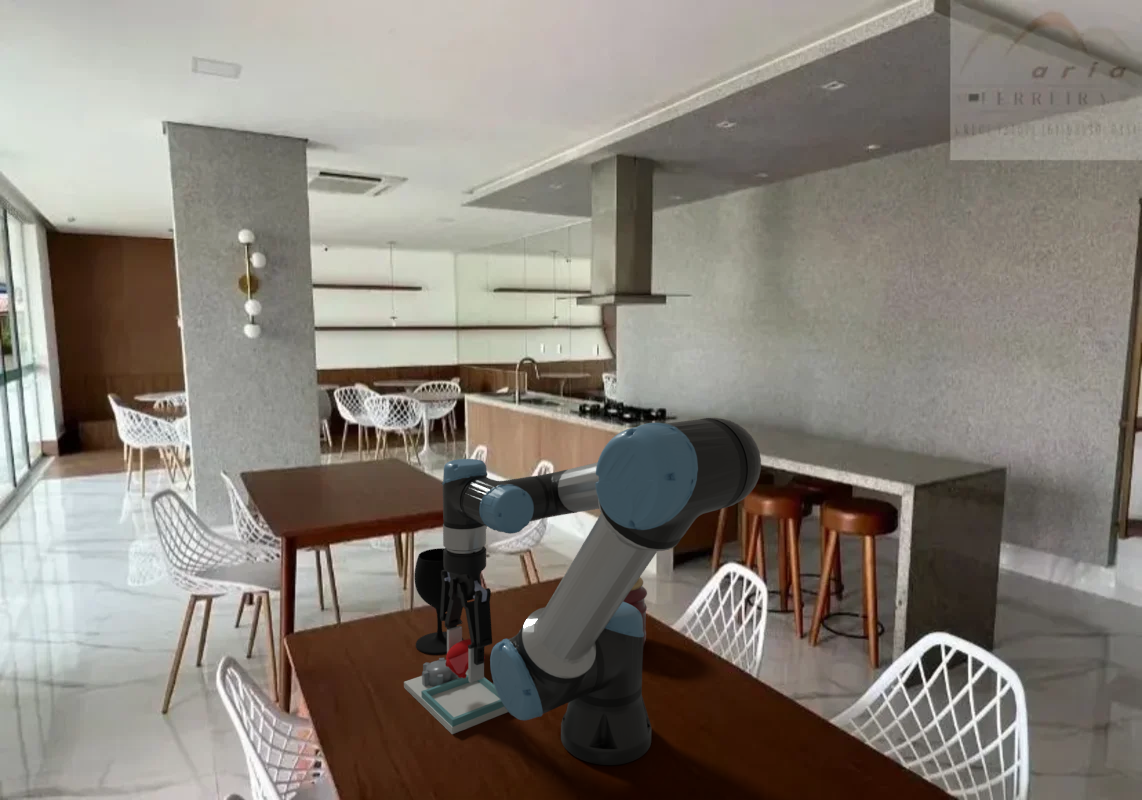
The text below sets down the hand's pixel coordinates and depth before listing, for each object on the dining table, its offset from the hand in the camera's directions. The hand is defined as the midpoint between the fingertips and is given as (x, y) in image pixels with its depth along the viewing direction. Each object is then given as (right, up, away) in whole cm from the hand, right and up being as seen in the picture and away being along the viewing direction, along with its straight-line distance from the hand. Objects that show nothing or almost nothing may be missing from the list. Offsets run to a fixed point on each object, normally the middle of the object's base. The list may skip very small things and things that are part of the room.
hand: (465, 670), depth 121 cm
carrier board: (-2, -7, +3) cm, 8 cm away
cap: (0, 0, 0) cm, 0 cm away
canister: (+29, -5, +27) cm, 40 cm away
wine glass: (-10, -5, +25) cm, 28 cm away
